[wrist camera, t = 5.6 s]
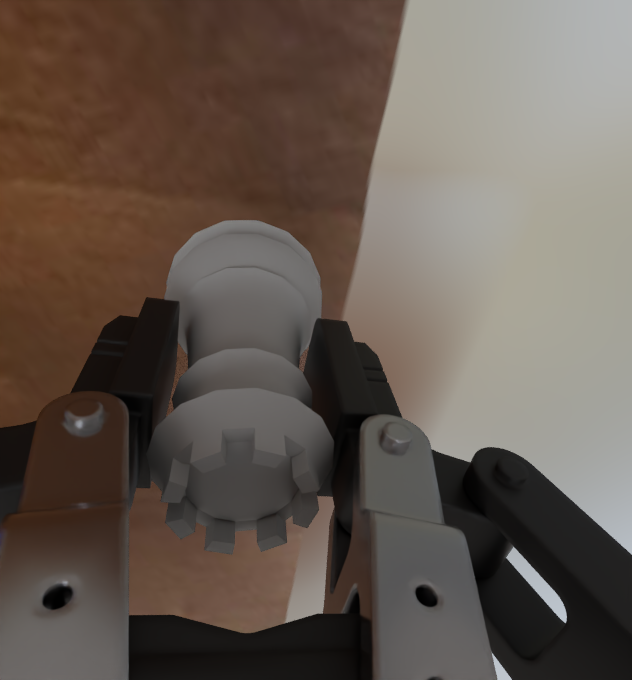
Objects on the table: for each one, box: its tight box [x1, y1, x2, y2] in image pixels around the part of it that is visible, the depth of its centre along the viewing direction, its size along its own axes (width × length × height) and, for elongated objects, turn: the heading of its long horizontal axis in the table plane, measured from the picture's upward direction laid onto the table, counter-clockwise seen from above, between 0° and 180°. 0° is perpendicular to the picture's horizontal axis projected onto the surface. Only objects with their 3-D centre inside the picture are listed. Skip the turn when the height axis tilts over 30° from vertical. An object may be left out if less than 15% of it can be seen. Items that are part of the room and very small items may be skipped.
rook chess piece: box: [146, 220, 334, 554], centre depth 11 cm, size 4×4×8 cm
